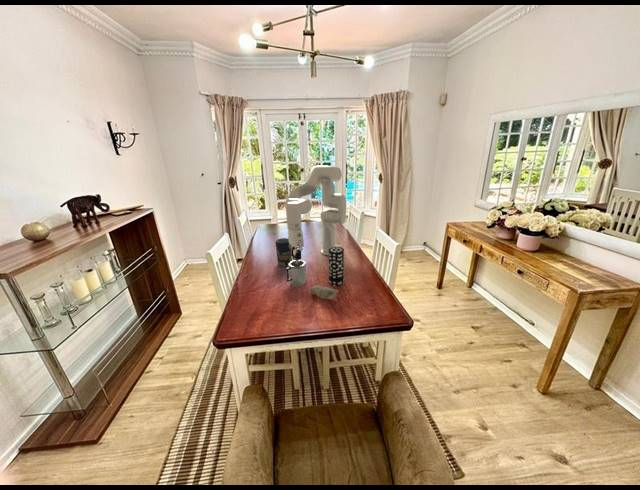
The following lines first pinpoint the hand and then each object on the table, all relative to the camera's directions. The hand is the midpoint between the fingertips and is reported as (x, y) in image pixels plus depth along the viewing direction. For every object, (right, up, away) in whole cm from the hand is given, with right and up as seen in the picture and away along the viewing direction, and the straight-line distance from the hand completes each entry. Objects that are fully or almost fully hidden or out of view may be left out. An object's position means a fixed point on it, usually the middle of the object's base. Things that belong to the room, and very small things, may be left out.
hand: (296, 257), depth 137 cm
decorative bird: (+15, -21, -9) cm, 28 cm away
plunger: (0, -11, +5) cm, 12 cm away
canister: (-10, -6, +28) cm, 31 cm away
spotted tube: (+22, -15, +5) cm, 27 cm away
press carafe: (0, -15, +6) cm, 16 cm away
